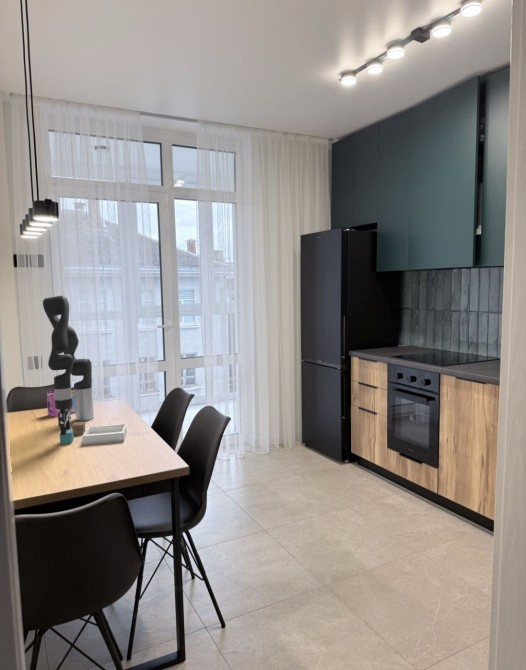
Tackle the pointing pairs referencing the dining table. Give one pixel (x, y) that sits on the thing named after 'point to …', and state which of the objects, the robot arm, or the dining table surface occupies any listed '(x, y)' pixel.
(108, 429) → the white tray
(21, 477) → the dining table surface
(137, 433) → the dining table surface
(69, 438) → the teal block
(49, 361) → the robot arm
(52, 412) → the gum box
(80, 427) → the walnut block
